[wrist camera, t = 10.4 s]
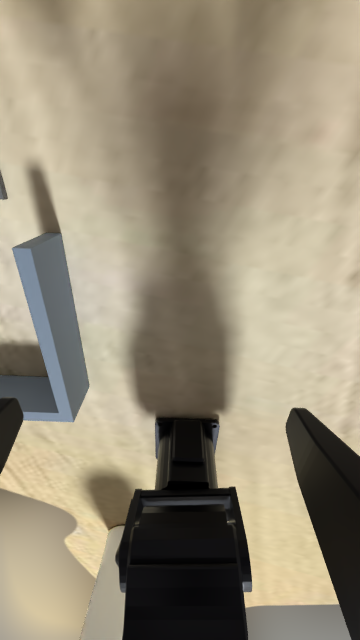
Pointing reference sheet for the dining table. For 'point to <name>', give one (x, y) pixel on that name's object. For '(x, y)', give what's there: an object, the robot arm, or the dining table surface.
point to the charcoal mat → (2, 189)
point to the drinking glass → (106, 596)
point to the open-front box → (49, 335)
